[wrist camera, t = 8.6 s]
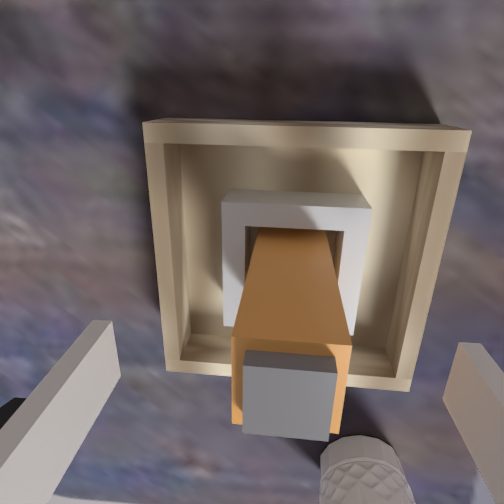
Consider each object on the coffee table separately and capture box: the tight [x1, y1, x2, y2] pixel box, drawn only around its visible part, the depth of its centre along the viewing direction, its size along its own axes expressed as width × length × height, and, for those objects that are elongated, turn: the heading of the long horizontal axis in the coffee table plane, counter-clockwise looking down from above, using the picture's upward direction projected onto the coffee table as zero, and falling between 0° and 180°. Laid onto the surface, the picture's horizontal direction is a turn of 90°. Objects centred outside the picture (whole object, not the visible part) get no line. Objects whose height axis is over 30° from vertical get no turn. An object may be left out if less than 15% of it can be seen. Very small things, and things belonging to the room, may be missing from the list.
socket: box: [221, 189, 372, 335], centre depth 23 cm, size 8×8×3 cm
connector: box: [231, 227, 352, 442], centre depth 18 cm, size 4×4×13 cm
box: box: [142, 117, 472, 392], centre depth 23 cm, size 16×16×4 cm
